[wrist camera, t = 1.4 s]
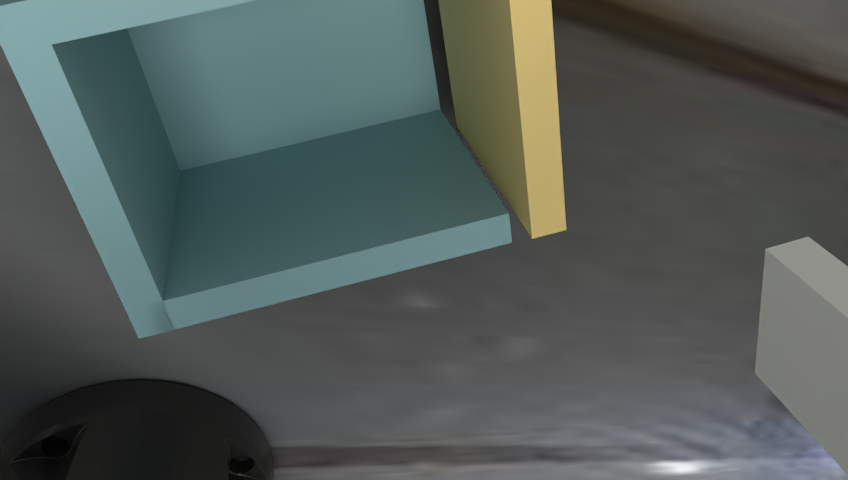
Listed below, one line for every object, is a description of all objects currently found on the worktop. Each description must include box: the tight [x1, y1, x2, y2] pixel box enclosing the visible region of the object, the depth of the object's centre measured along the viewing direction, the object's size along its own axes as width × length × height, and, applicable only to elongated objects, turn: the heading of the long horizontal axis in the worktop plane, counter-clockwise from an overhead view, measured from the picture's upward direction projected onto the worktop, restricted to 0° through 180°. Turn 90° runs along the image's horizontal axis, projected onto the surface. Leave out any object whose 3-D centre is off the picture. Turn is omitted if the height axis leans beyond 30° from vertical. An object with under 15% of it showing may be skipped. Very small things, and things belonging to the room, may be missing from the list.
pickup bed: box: [0, 0, 512, 339], centre depth 28 cm, size 13×14×12 cm
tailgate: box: [438, 0, 566, 239], centre depth 27 cm, size 11×10×1 cm
